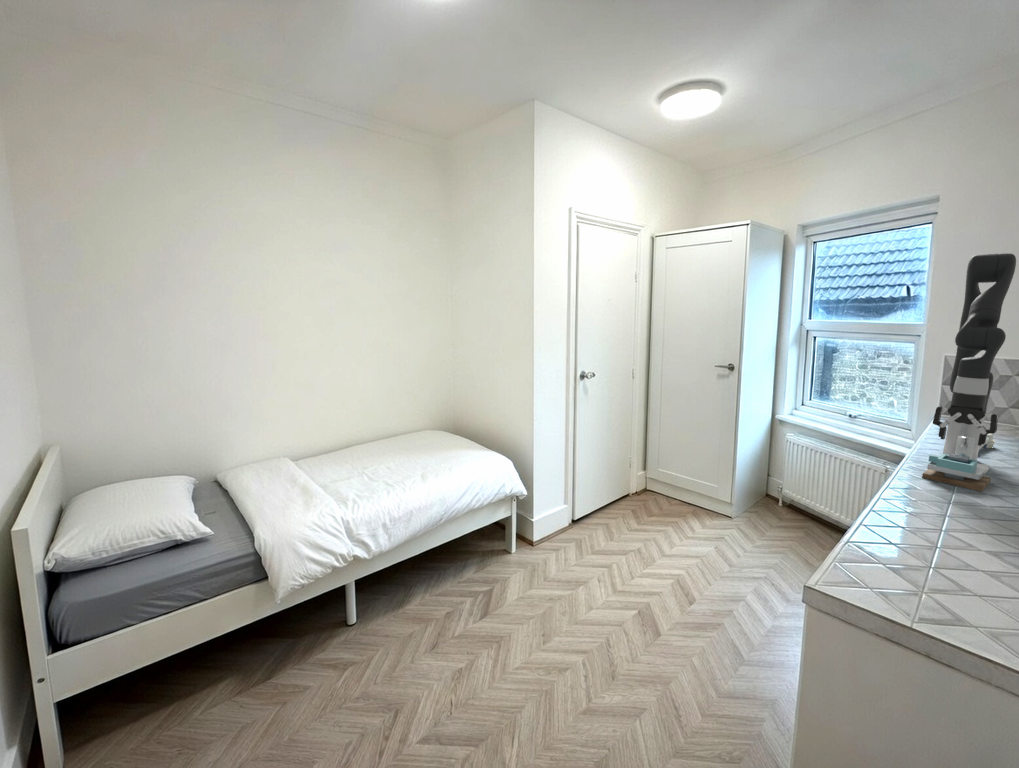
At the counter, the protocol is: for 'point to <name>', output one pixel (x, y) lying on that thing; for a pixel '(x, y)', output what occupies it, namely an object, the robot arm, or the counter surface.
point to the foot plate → (966, 483)
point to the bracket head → (953, 463)
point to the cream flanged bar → (988, 442)
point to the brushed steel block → (957, 459)
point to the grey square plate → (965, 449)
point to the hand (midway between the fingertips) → (960, 442)
